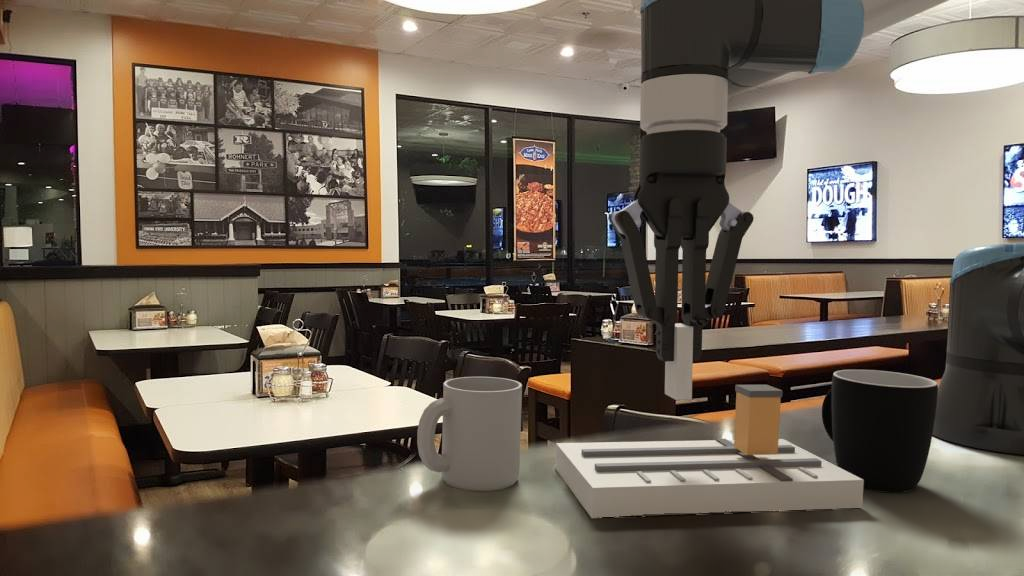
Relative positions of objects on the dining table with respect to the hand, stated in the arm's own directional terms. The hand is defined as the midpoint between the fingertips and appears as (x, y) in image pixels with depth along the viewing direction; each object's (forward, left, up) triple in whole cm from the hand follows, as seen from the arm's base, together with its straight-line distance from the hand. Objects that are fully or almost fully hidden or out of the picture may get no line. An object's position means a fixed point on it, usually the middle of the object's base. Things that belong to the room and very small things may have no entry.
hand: (678, 396), depth 66 cm
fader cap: (-8, 0, -5) cm, 9 cm away
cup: (+19, -3, -9) cm, 21 cm away
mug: (-20, -1, -9) cm, 22 cm away
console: (-2, 0, -8) cm, 9 cm away
